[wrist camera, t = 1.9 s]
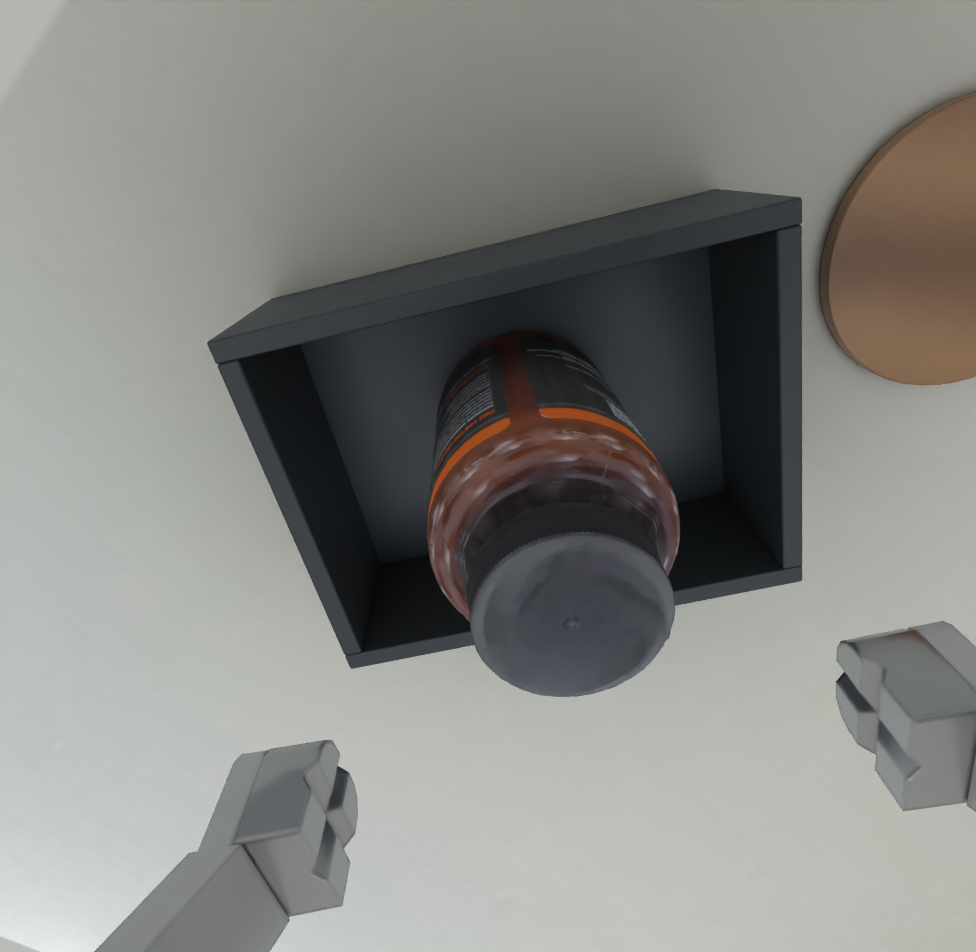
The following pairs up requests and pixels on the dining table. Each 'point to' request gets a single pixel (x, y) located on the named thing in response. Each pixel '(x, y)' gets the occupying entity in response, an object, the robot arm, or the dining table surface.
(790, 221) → the bin
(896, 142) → the coaster
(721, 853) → the dining table surface
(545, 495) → the supplement bottle
